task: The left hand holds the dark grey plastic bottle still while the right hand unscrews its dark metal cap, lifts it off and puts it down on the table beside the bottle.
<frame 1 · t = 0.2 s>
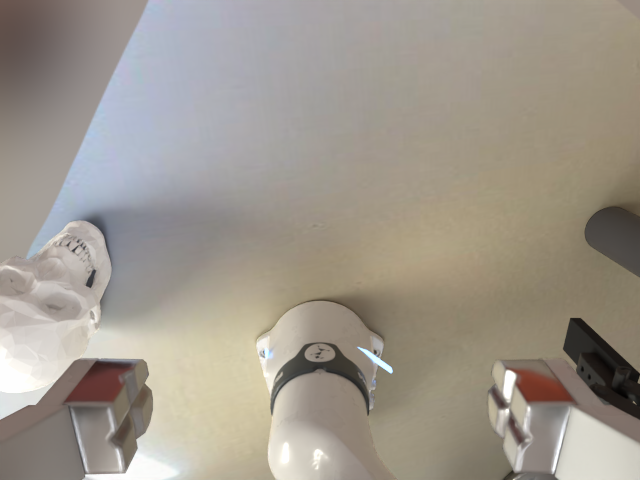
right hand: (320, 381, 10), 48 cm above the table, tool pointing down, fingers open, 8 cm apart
skull: (71, 283, 63), on the table
bottle: (607, 228, 60), on the table
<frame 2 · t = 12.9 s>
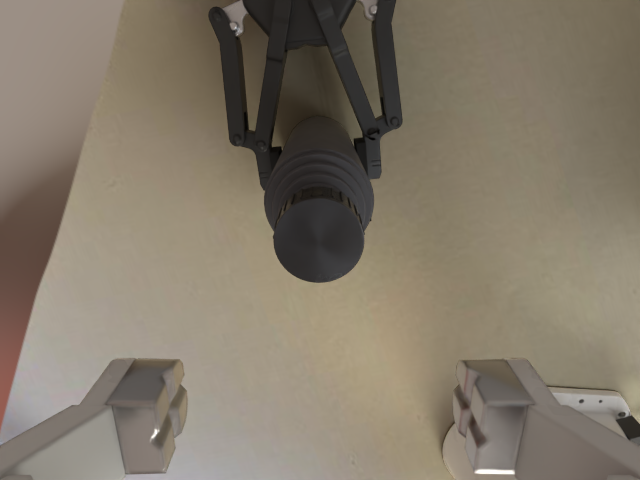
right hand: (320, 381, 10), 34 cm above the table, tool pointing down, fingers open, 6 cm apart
left hand: (325, 220, 38), fingers closed on bottle, 6 cm apart
cap: (318, 239, 19), point 24 cm above the table, screwed on, not yet turned
bottle: (319, 149, 42), on the table, touching left hand
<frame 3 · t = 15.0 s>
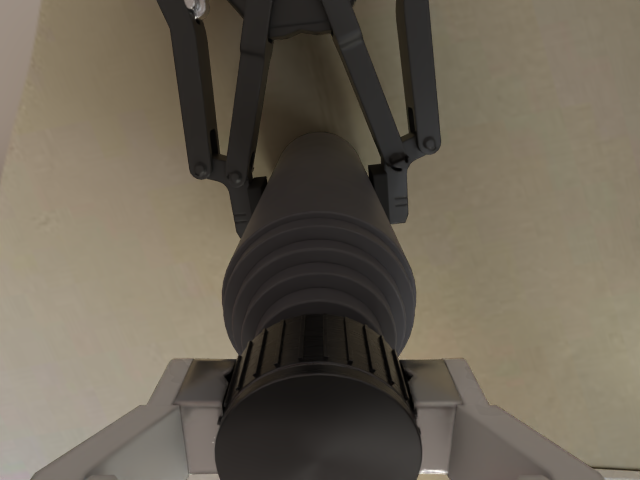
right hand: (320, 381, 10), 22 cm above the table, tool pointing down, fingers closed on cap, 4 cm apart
left hand: (328, 277, 28), fingers closed on bottle, 6 cm apart
cap: (318, 448, 9), point 24 cm above the table, screwed on, not yet turned, touching right hand
bottle: (319, 176, 32), on the table, touching left hand
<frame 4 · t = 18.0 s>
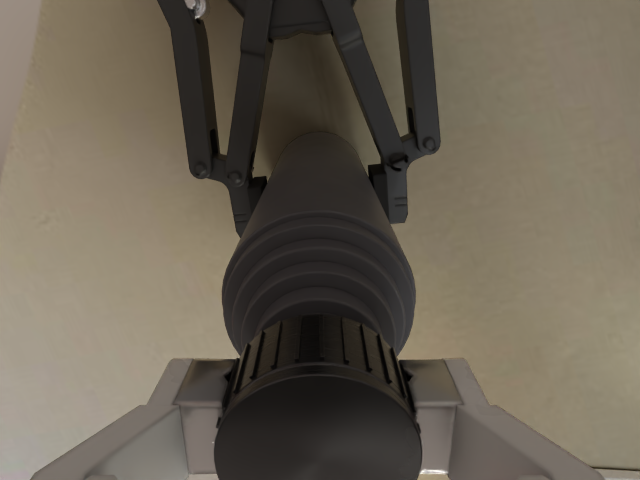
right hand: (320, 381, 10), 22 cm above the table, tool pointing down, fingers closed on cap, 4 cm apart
left hand: (328, 277, 28), fingers closed on bottle, 6 cm apart
cap: (318, 448, 9), point 25 cm above the table, turned 82° so far, risen 0.1 cm, still on its thread, touching right hand
bottle: (319, 175, 32), on the table, touching left hand
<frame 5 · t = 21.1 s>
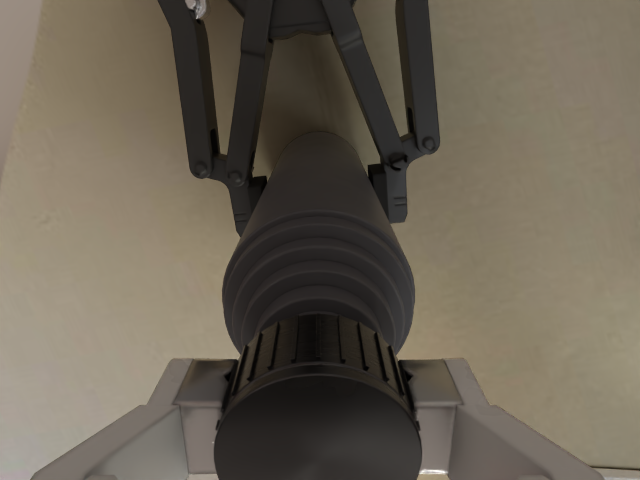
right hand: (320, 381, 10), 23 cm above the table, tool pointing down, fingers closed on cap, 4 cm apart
left hand: (327, 276, 28), fingers closed on bottle, 6 cm apart
cap: (317, 448, 9), point 25 cm above the table, turned 164° so far, risen 0.1 cm, still on its thread, touching right hand
bottle: (319, 175, 32), on the table, touching left hand
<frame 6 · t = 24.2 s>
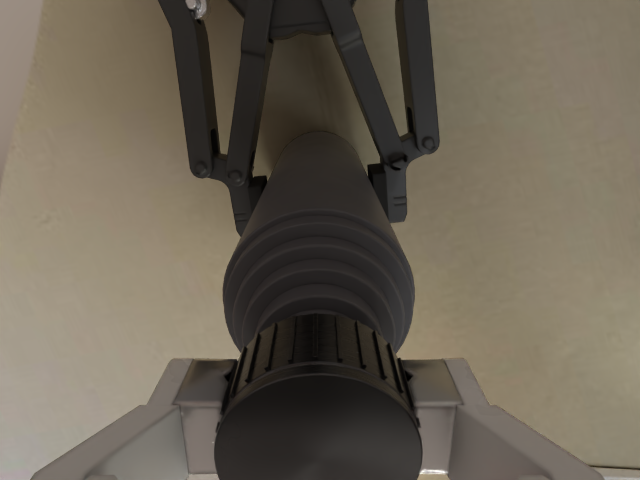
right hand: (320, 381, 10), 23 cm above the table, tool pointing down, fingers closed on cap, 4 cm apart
left hand: (327, 276, 28), fingers closed on bottle, 6 cm apart
cap: (318, 448, 9), point 25 cm above the table, turned 246° so far, risen 0.2 cm, still on its thread, touching right hand
bottle: (319, 175, 32), on the table, touching left hand
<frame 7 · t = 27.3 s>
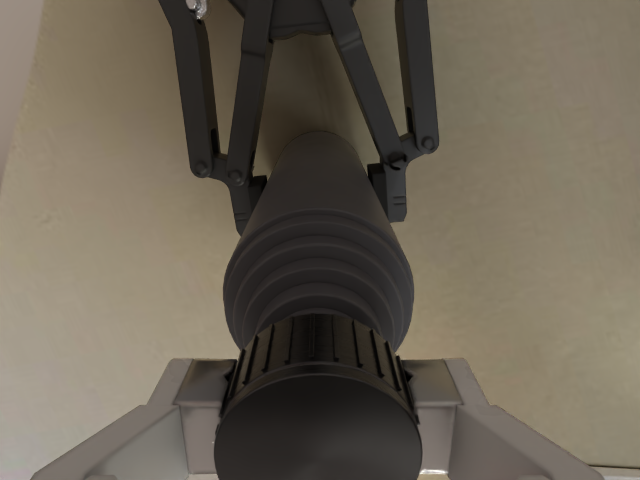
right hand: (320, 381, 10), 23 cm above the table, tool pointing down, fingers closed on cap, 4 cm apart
left hand: (327, 275, 28), fingers closed on bottle, 6 cm apart
cap: (318, 448, 9), point 25 cm above the table, turned 328° so far, risen 0.3 cm, still on its thread, touching right hand
bottle: (318, 175, 32), on the table, touching left hand
when the right hand's fingers open (2 cm above the table, at t = 34.1 s): cap drops 2 cm, point 2 cm above the table.
when the left hand's fingers open (6 cm above the table, at t = 35.2 s): bottle stays where it is, on the table.
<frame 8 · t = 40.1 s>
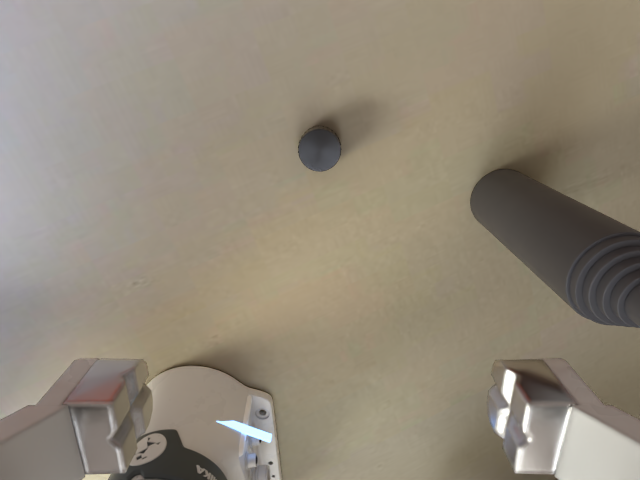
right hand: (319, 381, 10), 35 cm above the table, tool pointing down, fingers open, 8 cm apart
cap: (319, 150, 41), point 2 cm above the table, off its thread
bottle: (500, 199, 45), on the table
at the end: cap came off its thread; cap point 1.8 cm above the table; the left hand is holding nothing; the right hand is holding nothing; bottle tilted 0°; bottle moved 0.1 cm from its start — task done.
